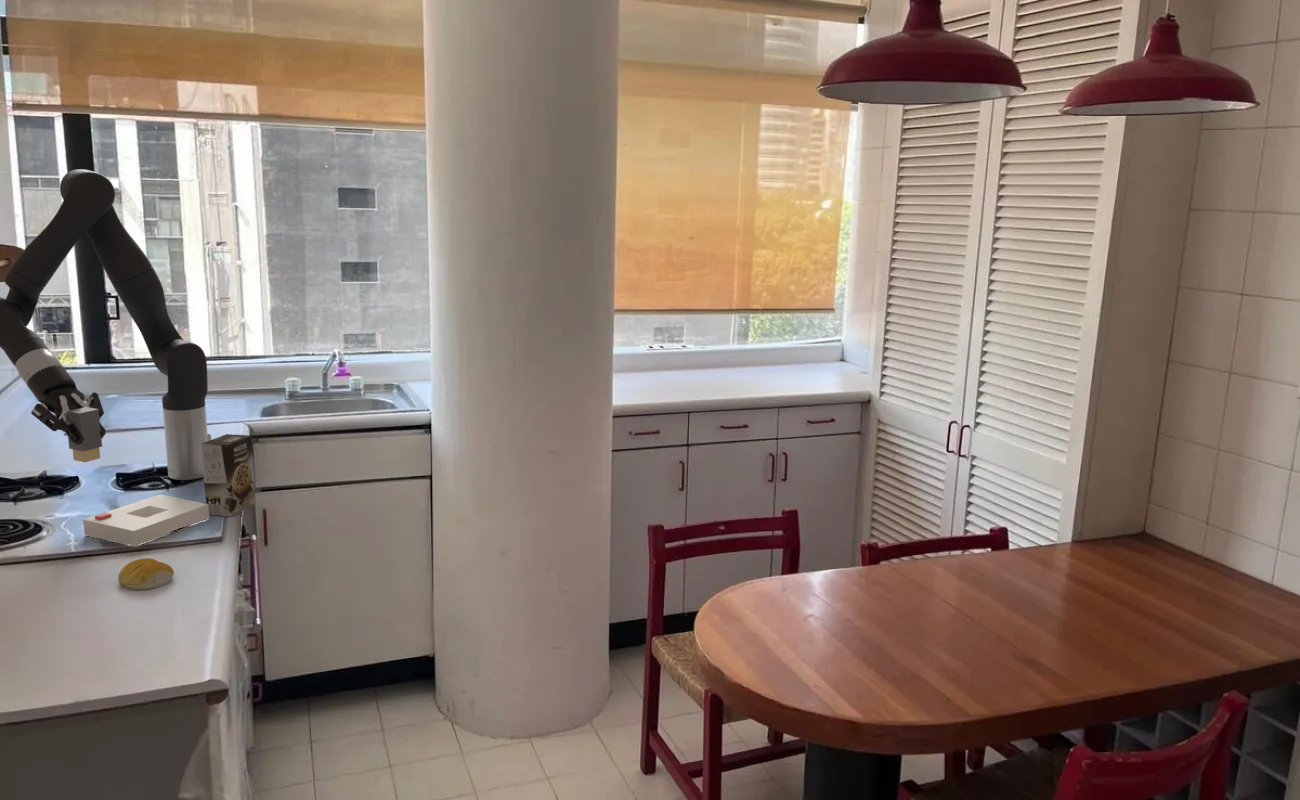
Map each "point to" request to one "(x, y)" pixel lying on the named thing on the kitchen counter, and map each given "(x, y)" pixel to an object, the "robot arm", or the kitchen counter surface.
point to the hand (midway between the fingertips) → (91, 439)
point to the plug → (86, 434)
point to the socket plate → (145, 519)
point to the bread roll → (145, 574)
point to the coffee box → (228, 474)
